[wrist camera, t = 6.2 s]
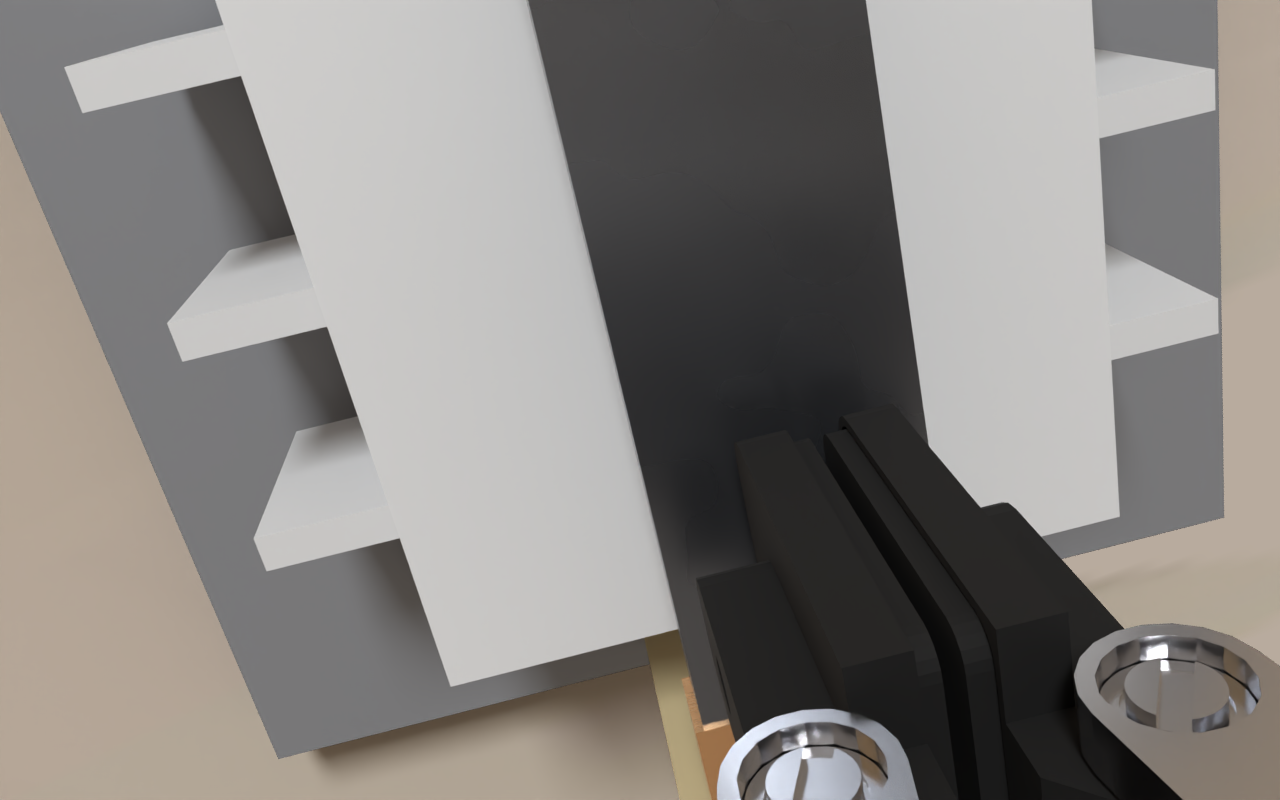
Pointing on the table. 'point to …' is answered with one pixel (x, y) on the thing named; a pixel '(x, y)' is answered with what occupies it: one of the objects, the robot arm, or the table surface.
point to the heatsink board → (268, 391)
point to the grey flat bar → (730, 254)
